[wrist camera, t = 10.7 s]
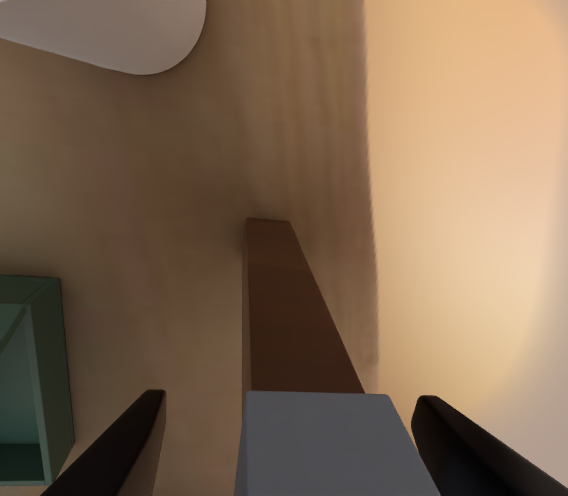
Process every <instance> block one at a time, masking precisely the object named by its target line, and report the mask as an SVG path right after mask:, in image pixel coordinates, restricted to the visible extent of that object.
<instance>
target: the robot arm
mask: <svg viewBox="0 0 568 496" xmlns="http://www.w3.org/2000/svg"><path fill="white" fill-rule="evenodd" d="M165 424H166V391H165V390H157V389H149V390H147V391H145V392H144V393H143V394H142V395H141V396H140V397H139V398H138V399H137V400H136V401H135V402H134V403H133V404H132V405H131V406H130V407H129V408H128V409H127V410H126V411H125V412H124V413H123V414H122V415H121V416H120V417H119V418H118V419H117V420H116V421H115V422H114V423H113V424H112V425H111V426H110V427H109V428H108V429H107V430H106V431H105V432H104V433H103V434H102V435H101V436H100V437H99V438H98V439H97V440H96V441H95V442H94V443H93V444H92V445H91V446H90V447H89V448H88V449H87V450H86V451H85V452H84V453H83V454H82V455H81V456H80V457H79V458H78V459H77V460H76V461H75V462H73V463H72V464H71V465H70V466H69V467H68V468H67V469H66V470H65V471H64V472H63V473H62V474H61V475H60V476H59V477H58V478H57V479H56V480H55V481H54V482H53V483H52V484H51V485H50V486H49V487H48V488H47V489H46V490H45V491H44V492H43V493H42V494H41V495H40V496H152V493H153V488H154V483H155V478H156V472H157V467H158V462H159V457H160V451H161V446H162V441H163V436H164V430H165ZM411 429H412V433H413V436H414V439H415V442H416V445H417V448H418V452H419V455H420V457H421V459H422V460H423V462H424V464H425V466H426V468H427V470H428V472H429V474H430V476H431V478H432V480H433V482H434V483H435V485H436V487H437V489H438V491H439V493H440V495H441V496H568V488H566V487H565V486H564V485H562V484H561V483H559V482H558V481H557V480H555V479H554V478H552V477H551V476H549V475H548V474H547V473H545V472H544V471H542V470H541V469H539V468H538V467H537V466H535V465H534V464H532V463H531V462H529V461H528V460H527V459H525V458H524V457H522V456H521V455H520V454H518V453H517V452H515V451H514V450H513V449H511V448H510V447H508V446H507V445H506V444H504V443H503V442H501V441H500V440H498V439H497V438H496V437H494V436H493V435H491V434H490V433H488V432H487V431H486V430H484V429H483V428H481V427H480V426H479V425H477V424H476V423H474V422H473V421H472V420H470V419H469V418H467V417H466V416H465V415H463V414H462V413H460V412H459V411H457V410H456V409H454V408H453V407H452V406H450V405H449V404H447V403H446V402H445V401H443V400H442V399H440V398H439V397H437V396H432V395H430V396H428V395H423V396H420V397H419V398H418V400H417V404H416V407H415V410H414V413H413V416H412V421H411Z"/></svg>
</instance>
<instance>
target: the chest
mask: <svg viewBox="0 0 568 496" xmlns="http://www.w3.org/2000/svg"><path fill="white" fill-rule="evenodd" d="M0 303H8V304H24V305H25V307H26V309H27V312H26V314H25V316H24V317H23V319H22V321H21V322H20V324H19V325H18V327H17V329H16V330H15V332H14V334H13V335H12V337H11V339H10V340H9V342H8V343H7V345H6V347H5V348H4V350H3V352H2V353H1V355H0V486H45V485H46V486H50V485H51V484H52V483H53V482H54V481H55V480H56V478H57V476H58V474H59V472H60V470H61V468H62V466H63V464H64V463H65V461H66V459H67V457H68V455H69V453H70V451H71V449H72V447H73V445H74V432H73V421H72V410H71V399H70V388H69V378H68V367H67V356H66V345H65V334H64V323H63V313H62V302H61V291H60V280H59V278H46V277H30V276H14V275H0Z"/></svg>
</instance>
